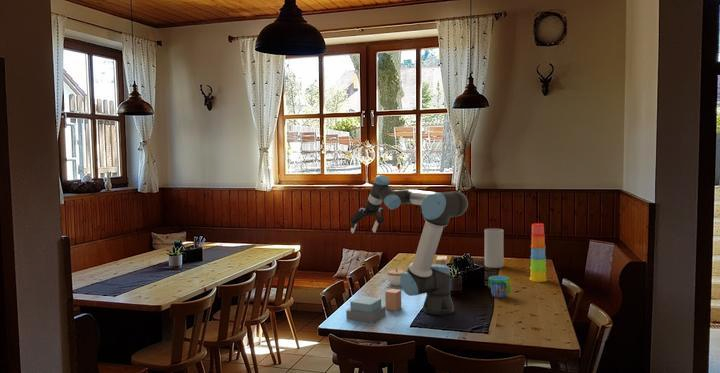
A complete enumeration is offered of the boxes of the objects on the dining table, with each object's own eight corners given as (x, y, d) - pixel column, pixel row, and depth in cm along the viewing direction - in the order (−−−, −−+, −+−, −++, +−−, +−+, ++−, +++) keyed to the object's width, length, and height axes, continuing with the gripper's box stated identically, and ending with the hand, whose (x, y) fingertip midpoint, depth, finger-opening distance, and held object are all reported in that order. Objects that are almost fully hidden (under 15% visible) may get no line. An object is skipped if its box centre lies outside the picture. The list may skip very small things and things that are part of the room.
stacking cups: (550, 280, 319) (551, 223, 317) (537, 282, 315) (537, 225, 313) (539, 277, 329) (539, 221, 326) (525, 279, 325) (525, 222, 322)
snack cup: (482, 293, 294) (482, 275, 294) (498, 291, 298) (498, 273, 297) (499, 300, 280) (499, 281, 279) (515, 298, 283) (516, 279, 283)
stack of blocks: (438, 271, 351) (438, 252, 350) (447, 271, 349) (447, 253, 349) (436, 279, 330) (436, 259, 329) (446, 279, 328) (446, 259, 328)
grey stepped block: (385, 314, 260) (385, 298, 260) (372, 322, 248) (371, 305, 247) (360, 310, 267) (360, 294, 266) (346, 318, 255) (346, 302, 254)
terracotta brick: (401, 307, 271) (401, 290, 271) (396, 310, 266) (396, 292, 266) (390, 305, 274) (390, 288, 274) (385, 309, 269) (385, 291, 268)
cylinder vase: (481, 265, 365) (481, 229, 364) (497, 263, 369) (497, 228, 367) (490, 269, 353) (490, 231, 352) (507, 267, 357) (507, 230, 355)
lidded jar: (385, 285, 315) (385, 270, 314) (391, 281, 325) (390, 266, 324) (402, 287, 311) (402, 271, 310) (408, 283, 321) (407, 267, 320)
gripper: (391, 197, 292) (379, 226, 303) (351, 196, 280) (340, 227, 291) (397, 205, 286) (385, 235, 297) (356, 205, 275) (345, 236, 286)
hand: (362, 231), depth 294 cm, fingers open, 13 cm apart
